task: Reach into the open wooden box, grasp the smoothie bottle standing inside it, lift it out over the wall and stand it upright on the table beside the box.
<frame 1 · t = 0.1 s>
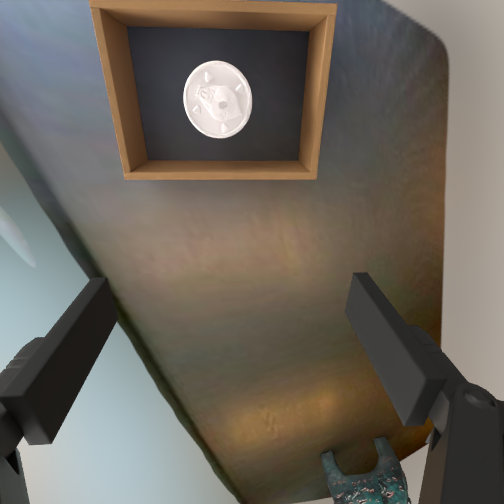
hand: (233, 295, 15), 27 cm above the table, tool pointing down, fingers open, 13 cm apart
ceramic cat: (350, 446, 74), on the table
smoothie: (222, 101, 34), resting in wooden box
wooden box: (222, 101, 34), on the table
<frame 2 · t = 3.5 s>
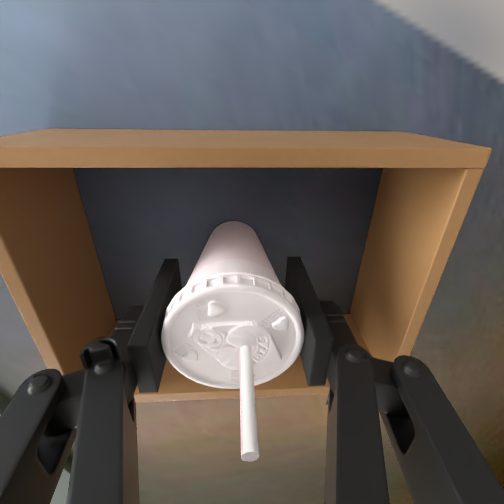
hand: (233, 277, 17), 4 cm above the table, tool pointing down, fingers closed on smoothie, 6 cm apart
smoothie: (233, 242, 21), resting in wooden box, touching gripper
wooden box: (233, 244, 21), on the table
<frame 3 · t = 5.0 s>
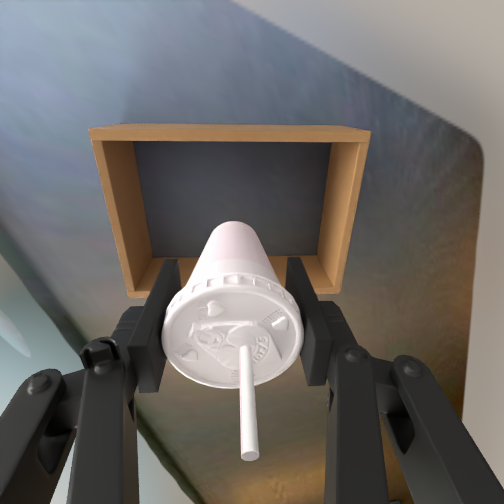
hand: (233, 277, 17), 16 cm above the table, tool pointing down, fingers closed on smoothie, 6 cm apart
smoothie: (233, 242, 21), point 11 cm above the table, touching gripper
wooden box: (235, 201, 31), on the table
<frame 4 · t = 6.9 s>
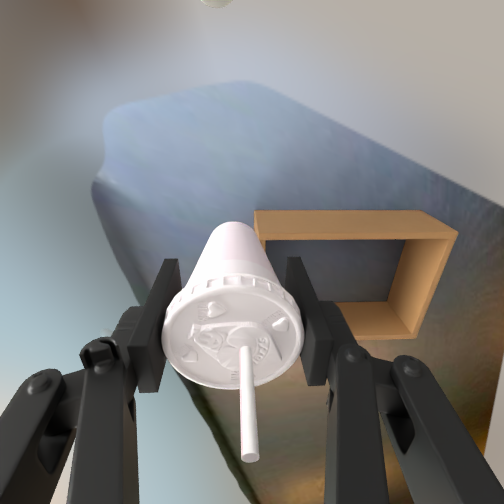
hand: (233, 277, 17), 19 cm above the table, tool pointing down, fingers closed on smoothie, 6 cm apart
smoothie: (233, 243, 21), point 14 cm above the table, touching gripper
wooden box: (329, 262, 39), on the table
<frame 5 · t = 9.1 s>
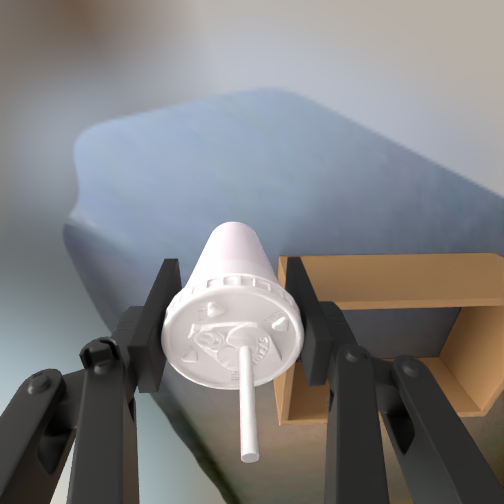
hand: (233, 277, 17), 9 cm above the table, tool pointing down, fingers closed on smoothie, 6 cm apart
smoothie: (233, 243, 21), point 4 cm above the table, touching gripper
wooden box: (371, 315, 31), on the table
when the fingers open (4 cm above the table, at t = 10.6 s): smoothie stays where it is, on the table.
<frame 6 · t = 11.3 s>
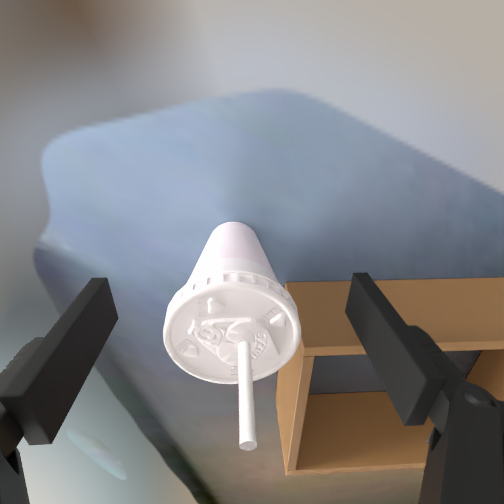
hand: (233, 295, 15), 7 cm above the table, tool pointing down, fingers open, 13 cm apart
smoothie: (233, 242, 21), on the table
wooden box: (389, 345, 27), on the table
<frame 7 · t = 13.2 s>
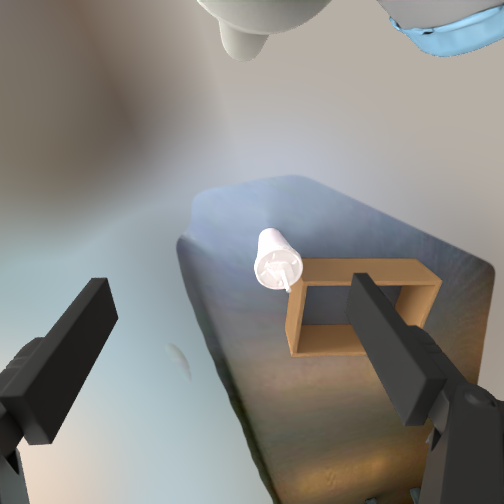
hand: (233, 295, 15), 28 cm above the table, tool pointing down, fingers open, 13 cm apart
ceramic cat: (390, 494, 91), on the table
smoothie: (270, 238, 45), on the table
wooden box: (346, 295, 52), on the table
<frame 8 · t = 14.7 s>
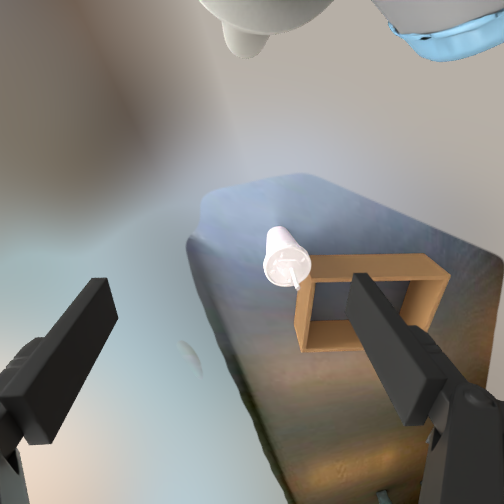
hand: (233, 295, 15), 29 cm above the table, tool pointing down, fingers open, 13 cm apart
ceramic cat: (400, 486, 92), on the table
smoothie: (277, 236, 46), on the table
wooden box: (354, 290, 52), on the table
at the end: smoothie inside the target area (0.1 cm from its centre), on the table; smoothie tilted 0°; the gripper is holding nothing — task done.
